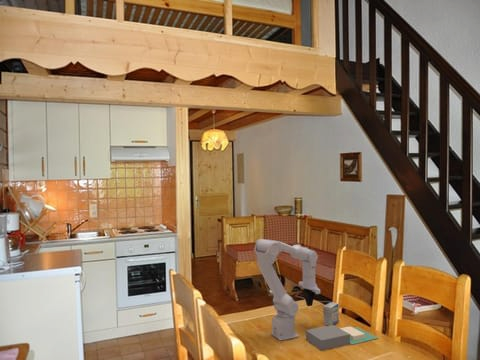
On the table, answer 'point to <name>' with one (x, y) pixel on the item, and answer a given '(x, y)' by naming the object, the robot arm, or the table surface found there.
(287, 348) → the table surface
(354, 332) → the white flat block
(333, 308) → the medicine box
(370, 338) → the mat
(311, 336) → the block
